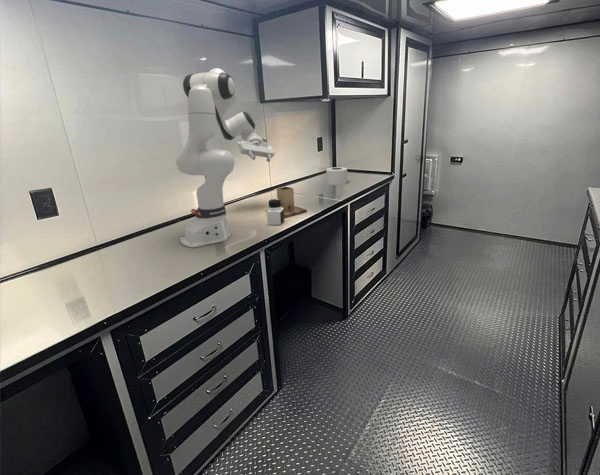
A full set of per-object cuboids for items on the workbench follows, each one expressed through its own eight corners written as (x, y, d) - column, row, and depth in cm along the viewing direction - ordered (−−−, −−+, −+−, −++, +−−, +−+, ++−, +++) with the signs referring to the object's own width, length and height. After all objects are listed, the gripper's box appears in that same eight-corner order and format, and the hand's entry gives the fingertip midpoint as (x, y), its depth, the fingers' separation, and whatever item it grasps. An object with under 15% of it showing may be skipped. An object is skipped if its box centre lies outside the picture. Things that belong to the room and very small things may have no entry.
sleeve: (286, 212, 184) (284, 190, 180) (277, 209, 190) (275, 188, 186) (295, 209, 188) (294, 188, 184) (286, 207, 194) (285, 186, 190)
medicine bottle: (281, 225, 169) (279, 201, 164) (267, 225, 170) (265, 201, 166) (284, 220, 175) (283, 198, 171) (271, 220, 177) (269, 197, 172)
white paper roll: (332, 186, 248) (331, 171, 245) (323, 182, 262) (322, 168, 258) (350, 183, 254) (351, 168, 250) (341, 180, 267) (341, 166, 263)
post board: (283, 218, 179) (282, 199, 175) (266, 212, 191) (264, 195, 187) (306, 212, 188) (306, 194, 185) (288, 206, 200) (288, 190, 197)
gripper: (238, 135, 181) (246, 152, 175) (270, 141, 194) (279, 157, 187) (234, 144, 185) (242, 162, 179) (266, 149, 198) (274, 166, 191)
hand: (261, 159), depth 183 cm, fingers open, 8 cm apart
